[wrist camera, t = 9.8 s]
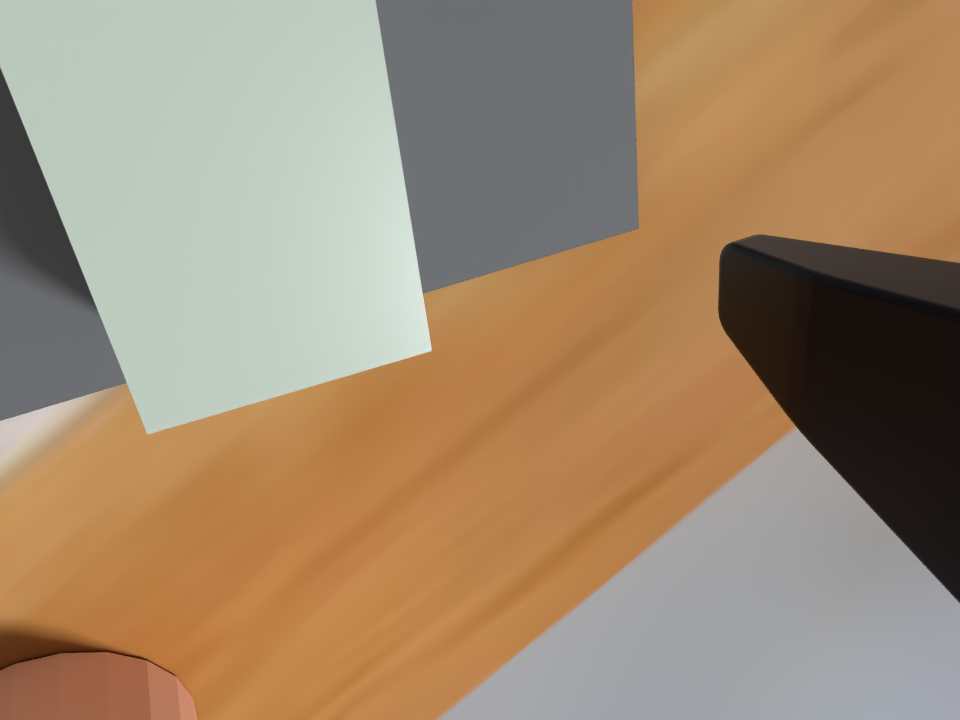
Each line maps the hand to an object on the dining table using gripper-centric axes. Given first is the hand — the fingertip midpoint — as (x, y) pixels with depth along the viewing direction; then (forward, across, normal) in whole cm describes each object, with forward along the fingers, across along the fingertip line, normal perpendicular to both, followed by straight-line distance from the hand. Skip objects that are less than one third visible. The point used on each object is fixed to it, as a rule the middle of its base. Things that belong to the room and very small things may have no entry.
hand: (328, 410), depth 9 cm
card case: (+11, 0, 0) cm, 11 cm away
